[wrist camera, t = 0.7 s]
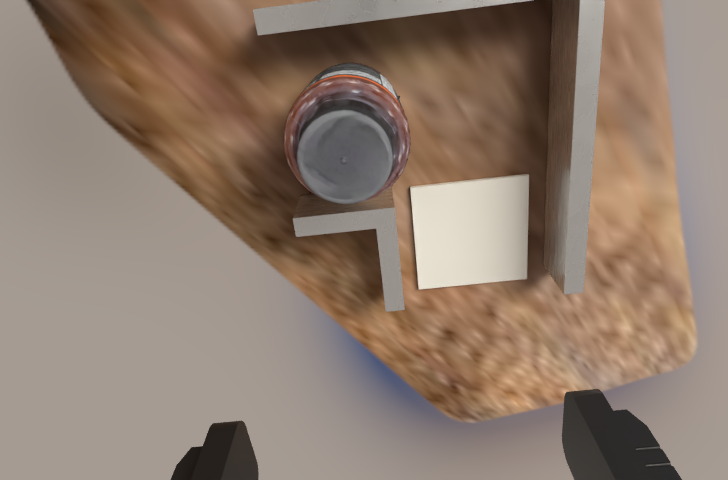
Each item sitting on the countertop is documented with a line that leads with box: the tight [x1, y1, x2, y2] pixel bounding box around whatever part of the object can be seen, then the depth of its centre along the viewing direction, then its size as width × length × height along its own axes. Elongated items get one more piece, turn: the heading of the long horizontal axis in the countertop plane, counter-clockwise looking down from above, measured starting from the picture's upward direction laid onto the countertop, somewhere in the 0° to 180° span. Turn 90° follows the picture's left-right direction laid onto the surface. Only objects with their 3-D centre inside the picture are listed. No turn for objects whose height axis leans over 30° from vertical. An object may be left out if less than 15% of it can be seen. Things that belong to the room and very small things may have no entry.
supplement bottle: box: [284, 63, 411, 204], centre depth 26 cm, size 6×6×11 cm
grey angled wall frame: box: [253, 0, 605, 312], centre depth 30 cm, size 18×17×4 cm
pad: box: [410, 174, 529, 289], centre depth 34 cm, size 8×8×1 cm
